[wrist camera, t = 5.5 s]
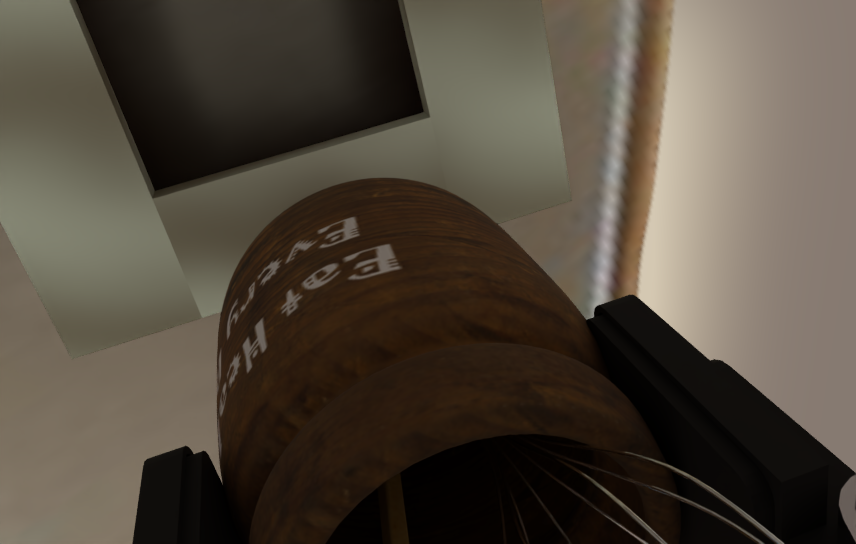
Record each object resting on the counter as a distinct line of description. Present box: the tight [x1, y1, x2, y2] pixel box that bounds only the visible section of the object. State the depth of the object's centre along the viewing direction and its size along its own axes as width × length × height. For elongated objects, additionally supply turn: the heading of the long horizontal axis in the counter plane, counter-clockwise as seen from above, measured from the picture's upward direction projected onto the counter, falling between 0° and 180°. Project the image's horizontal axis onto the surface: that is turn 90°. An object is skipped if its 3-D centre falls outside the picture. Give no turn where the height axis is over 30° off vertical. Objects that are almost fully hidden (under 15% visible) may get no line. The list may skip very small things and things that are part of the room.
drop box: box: [0, 0, 572, 359], centre depth 23 cm, size 16×16×8 cm
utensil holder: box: [217, 178, 784, 544], centre depth 9 cm, size 6×6×12 cm
